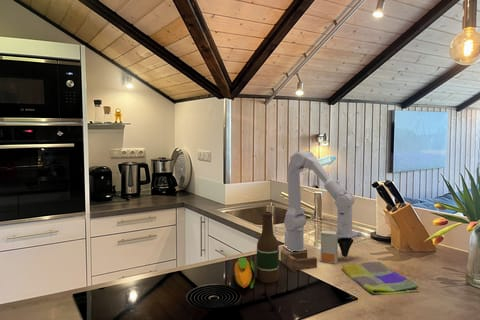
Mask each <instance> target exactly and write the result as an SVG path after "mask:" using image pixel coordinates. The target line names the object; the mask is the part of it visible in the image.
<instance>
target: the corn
mask: <svg viewBox="0 0 480 320" xmlns="http://www.w3.org/2000/svg"><path fill="white" fill-rule="evenodd" d="M255 270H256V268H255V263H254V262H253V261H252V260H251V259H250V258H248V259H247V257H240V258H237V261H236V262H235V264H234V281H235V284H236V285H237V286H239V287H242V288H243V289H246V288H247V287H248V286H249V287H250V289H253V288H254V285H255V282H256V279H255V278H256V275H255Z"/></svg>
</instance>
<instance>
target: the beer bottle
mask: <svg viewBox="0 0 480 320" xmlns="http://www.w3.org/2000/svg"><path fill="white" fill-rule="evenodd" d="M273 215H274V214H273V212H271V211H263V212H262V213H261V216H262V230H261V235H260V236H259V238H258V241H257V243H256V274H257V275H256V276H257V277H256V278H257V280H258V281H259V282H260V283H263V284H273V283H277V282H278V280H279V279H280V252H279V251H280V248H279V241H278V239H277V237H276V236H275V234H274V233H275V232H274V228H273V227H274V226H273Z"/></svg>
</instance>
